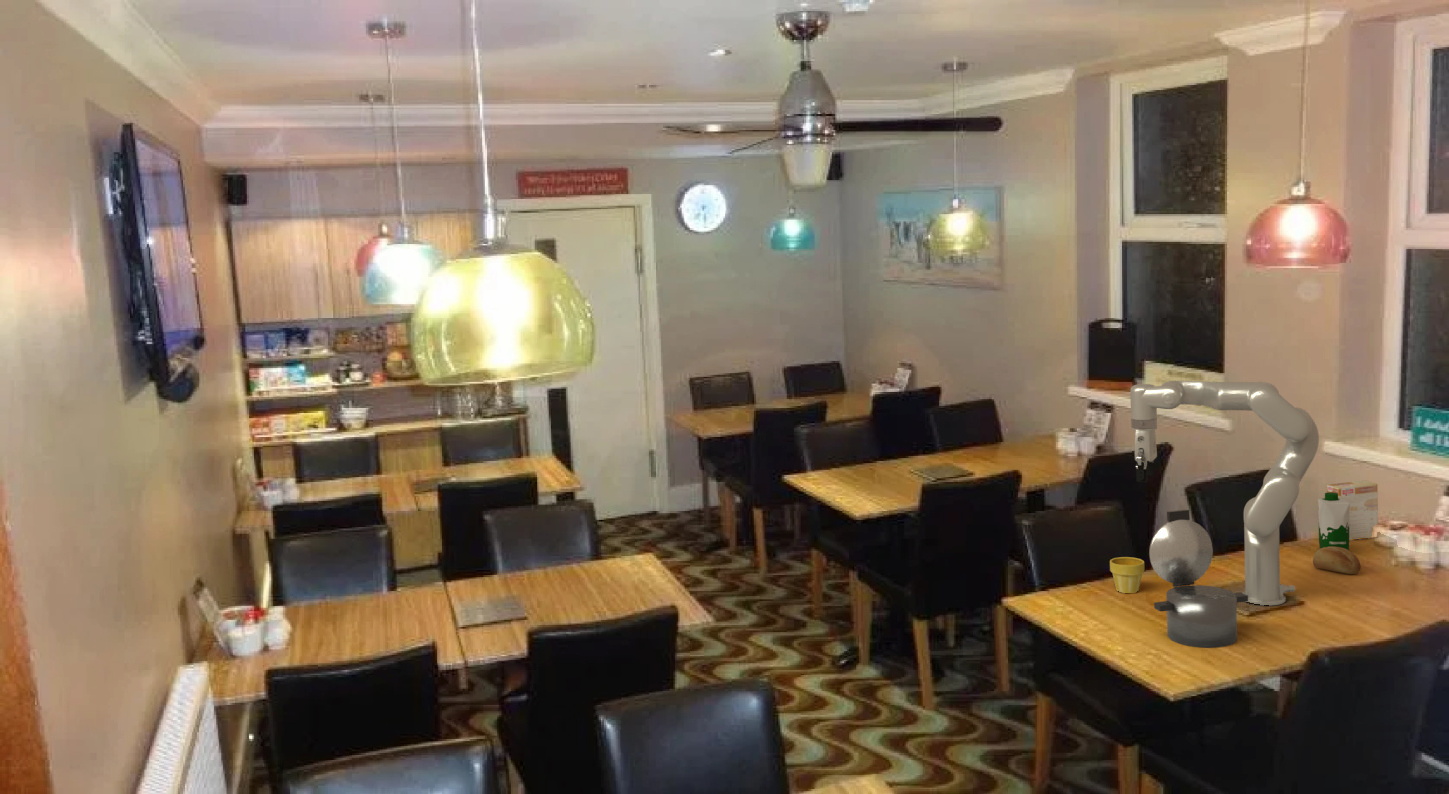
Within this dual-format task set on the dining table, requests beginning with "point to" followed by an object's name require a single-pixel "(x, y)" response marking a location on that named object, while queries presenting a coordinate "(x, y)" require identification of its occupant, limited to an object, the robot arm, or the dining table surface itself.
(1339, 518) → the milk carton
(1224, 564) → the dining table surface
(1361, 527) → the coffeecake box
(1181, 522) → the cooker lid
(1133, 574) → the plant pot
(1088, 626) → the dining table surface
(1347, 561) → the bread roll
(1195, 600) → the pressure cooker
